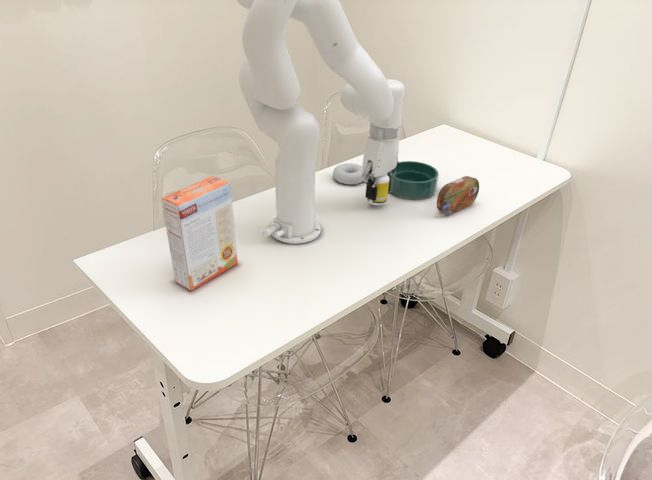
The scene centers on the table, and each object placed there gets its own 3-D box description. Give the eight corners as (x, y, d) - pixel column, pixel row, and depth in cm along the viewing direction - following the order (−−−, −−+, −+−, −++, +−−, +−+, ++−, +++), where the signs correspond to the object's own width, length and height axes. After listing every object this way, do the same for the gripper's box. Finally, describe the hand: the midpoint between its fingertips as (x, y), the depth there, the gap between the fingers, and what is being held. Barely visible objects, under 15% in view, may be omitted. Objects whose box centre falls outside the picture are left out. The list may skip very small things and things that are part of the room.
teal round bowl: (427, 204, 160) (429, 186, 157) (378, 193, 165) (380, 175, 162) (441, 184, 171) (444, 167, 168) (396, 174, 176) (397, 157, 173)
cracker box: (220, 255, 137) (213, 173, 125) (238, 265, 134) (232, 182, 122) (172, 281, 128) (159, 196, 116) (190, 292, 125) (179, 206, 113)
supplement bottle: (390, 202, 159) (395, 168, 153) (377, 207, 155) (381, 173, 150) (376, 195, 162) (379, 162, 156) (362, 200, 159) (365, 167, 153)
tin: (441, 219, 154) (445, 190, 149) (432, 214, 156) (436, 186, 151) (477, 203, 162) (482, 175, 157) (468, 198, 164) (473, 171, 159)
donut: (332, 186, 169) (367, 186, 169) (332, 175, 167) (367, 175, 167) (333, 171, 177) (366, 172, 177) (333, 161, 175) (366, 161, 175)
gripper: (392, 119, 155) (384, 181, 165) (351, 134, 144) (346, 200, 154) (415, 126, 151) (406, 190, 161) (376, 143, 140) (369, 210, 150)
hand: (377, 194), depth 158 cm, fingers closed on supplement bottle, 5 cm apart
